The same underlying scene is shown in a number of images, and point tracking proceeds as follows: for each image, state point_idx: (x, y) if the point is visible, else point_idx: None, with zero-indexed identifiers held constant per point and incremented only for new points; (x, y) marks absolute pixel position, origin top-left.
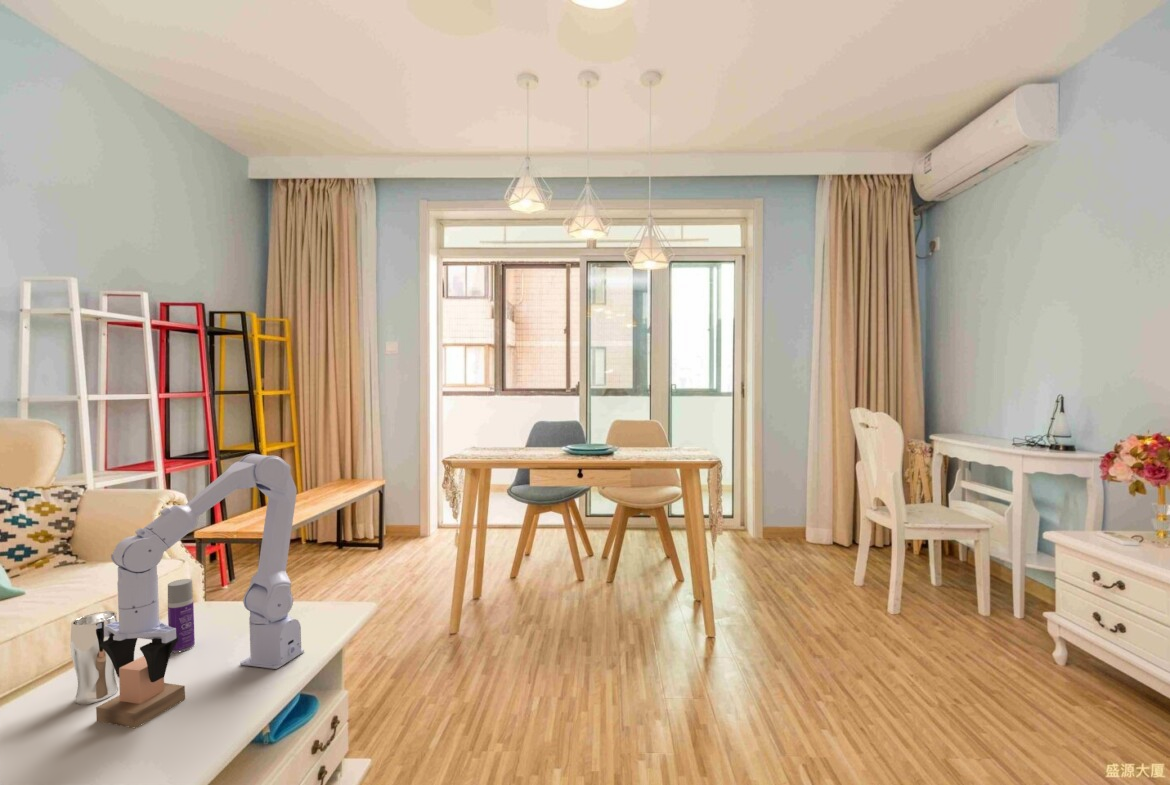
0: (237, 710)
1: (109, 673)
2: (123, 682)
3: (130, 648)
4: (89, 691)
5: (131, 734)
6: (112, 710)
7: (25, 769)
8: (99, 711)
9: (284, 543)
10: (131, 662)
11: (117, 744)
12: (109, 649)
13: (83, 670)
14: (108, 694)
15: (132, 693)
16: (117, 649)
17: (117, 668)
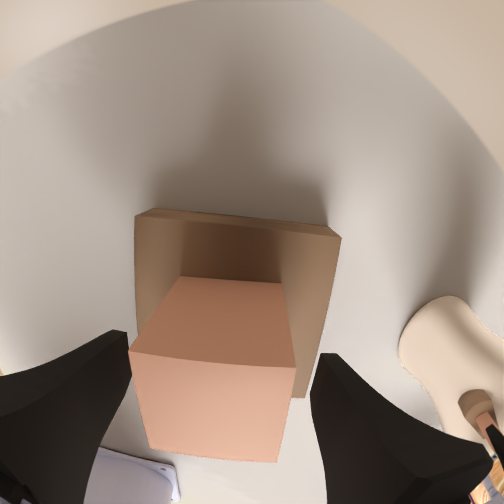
0: (5, 306)
1: (431, 383)
2: (261, 320)
3: (335, 485)
4: (446, 321)
5: (134, 178)
6: (251, 226)
7: (295, 7)
8: (321, 232)
9: None
10: (280, 419)
11: (130, 129)
12: (408, 454)
13: (496, 349)
14: (404, 341)
15: (209, 294)
16: (369, 468)
17: (339, 377)
